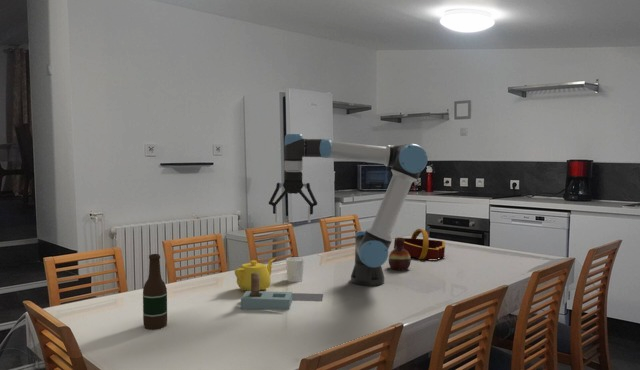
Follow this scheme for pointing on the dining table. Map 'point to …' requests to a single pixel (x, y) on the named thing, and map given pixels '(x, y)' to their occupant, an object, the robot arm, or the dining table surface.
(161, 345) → the dining table surface
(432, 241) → the decorative basket
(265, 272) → the teapot
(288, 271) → the white cup
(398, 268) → the vase
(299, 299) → the mat
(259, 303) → the hole block
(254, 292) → the peg
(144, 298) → the beer bottle
